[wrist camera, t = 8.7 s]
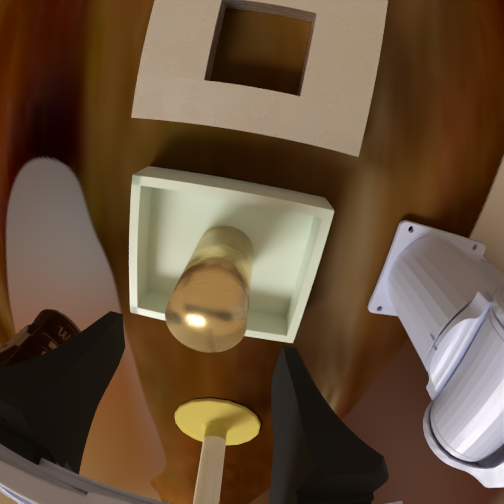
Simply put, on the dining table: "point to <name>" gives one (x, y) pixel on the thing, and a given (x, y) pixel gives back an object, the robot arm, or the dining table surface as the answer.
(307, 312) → the dining table surface
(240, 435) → the candle
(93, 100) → the dining table surface
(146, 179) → the tray
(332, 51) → the block
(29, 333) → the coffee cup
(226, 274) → the pin
